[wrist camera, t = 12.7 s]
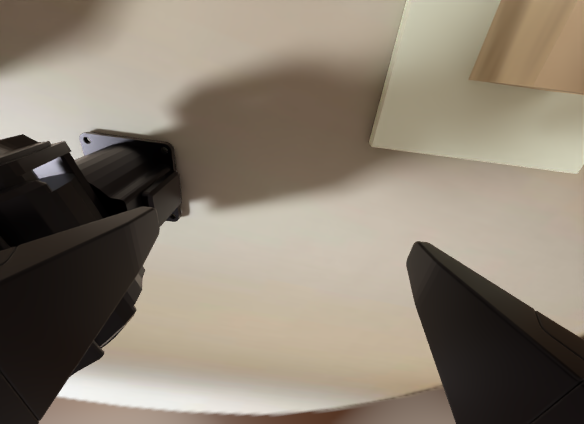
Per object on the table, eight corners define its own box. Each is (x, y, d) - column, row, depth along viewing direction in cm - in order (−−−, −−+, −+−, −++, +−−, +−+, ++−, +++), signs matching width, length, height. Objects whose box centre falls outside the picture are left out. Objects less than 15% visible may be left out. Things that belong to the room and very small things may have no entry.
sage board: (368, 143, 18) (371, 146, 17) (453, -178, 11) (465, -198, 10) (564, 168, 19) (577, 173, 18) (764, -130, 12) (801, -146, 11)
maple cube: (468, 79, 15) (532, 86, 11) (514, -35, 13) (622, -85, 8) (552, 91, 15) (649, 102, 11) (614, -20, 13) (771, -62, 9)
